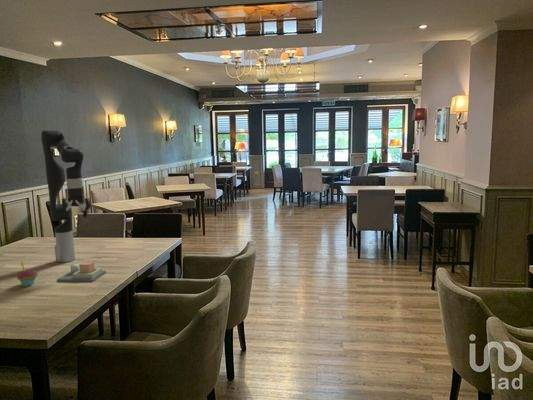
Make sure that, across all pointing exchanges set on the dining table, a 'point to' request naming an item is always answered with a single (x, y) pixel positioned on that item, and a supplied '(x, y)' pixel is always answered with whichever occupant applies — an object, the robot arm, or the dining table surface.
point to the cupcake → (27, 276)
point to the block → (87, 267)
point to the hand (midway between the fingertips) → (77, 217)
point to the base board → (81, 275)
